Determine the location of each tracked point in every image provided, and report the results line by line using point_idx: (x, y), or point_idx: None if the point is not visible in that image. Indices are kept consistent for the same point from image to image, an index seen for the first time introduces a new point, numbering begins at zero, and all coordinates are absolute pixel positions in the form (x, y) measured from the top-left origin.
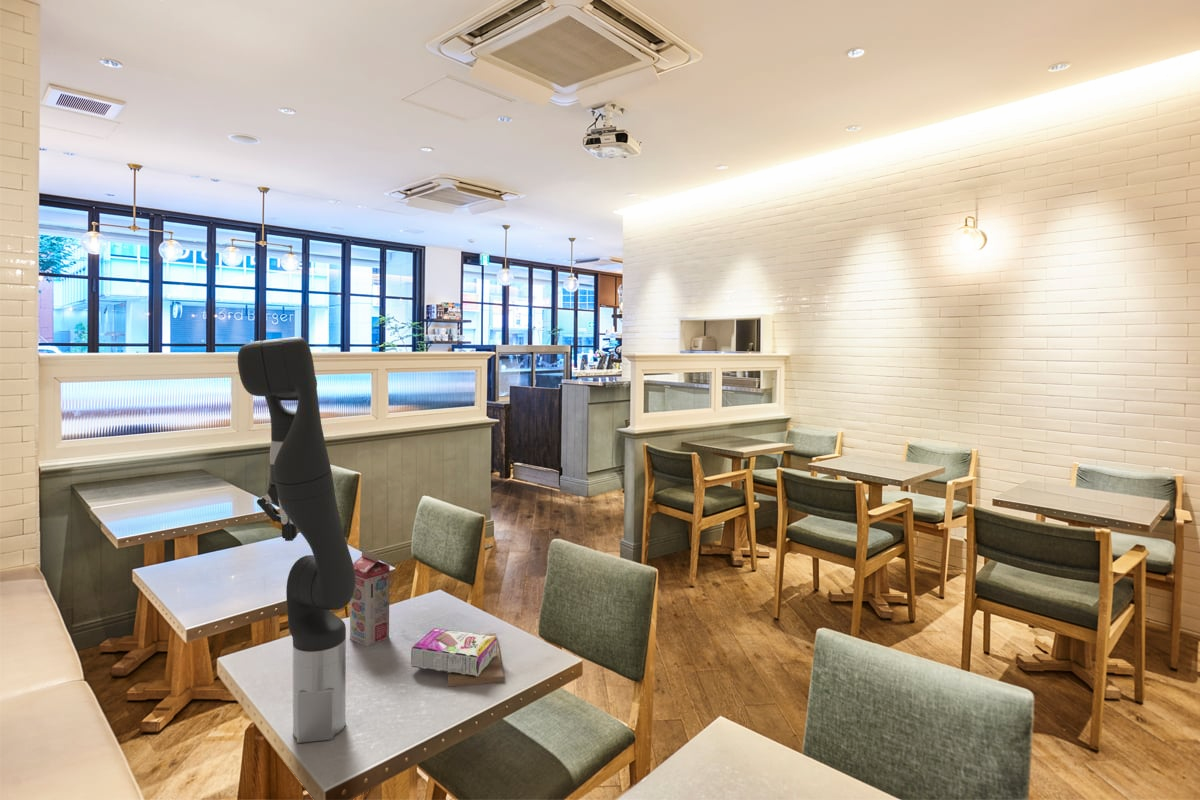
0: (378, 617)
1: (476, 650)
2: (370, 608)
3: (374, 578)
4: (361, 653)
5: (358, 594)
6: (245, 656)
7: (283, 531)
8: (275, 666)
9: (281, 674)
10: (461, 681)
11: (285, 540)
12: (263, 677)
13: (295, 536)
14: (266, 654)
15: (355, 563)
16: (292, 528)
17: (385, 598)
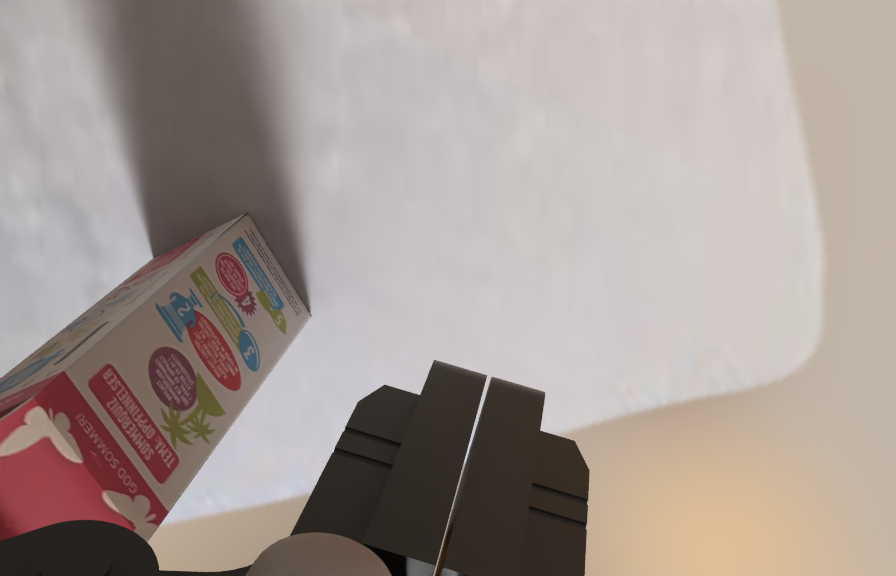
0: (138, 283)
1: None
2: (143, 293)
3: (24, 386)
4: (265, 155)
5: (171, 376)
6: (742, 342)
7: (557, 522)
8: (629, 189)
9: (610, 97)
10: None
11: (538, 390)
12: (689, 101)
13: (372, 397)
14: (656, 323)
15: None
16: (382, 497)
17: (57, 339)
